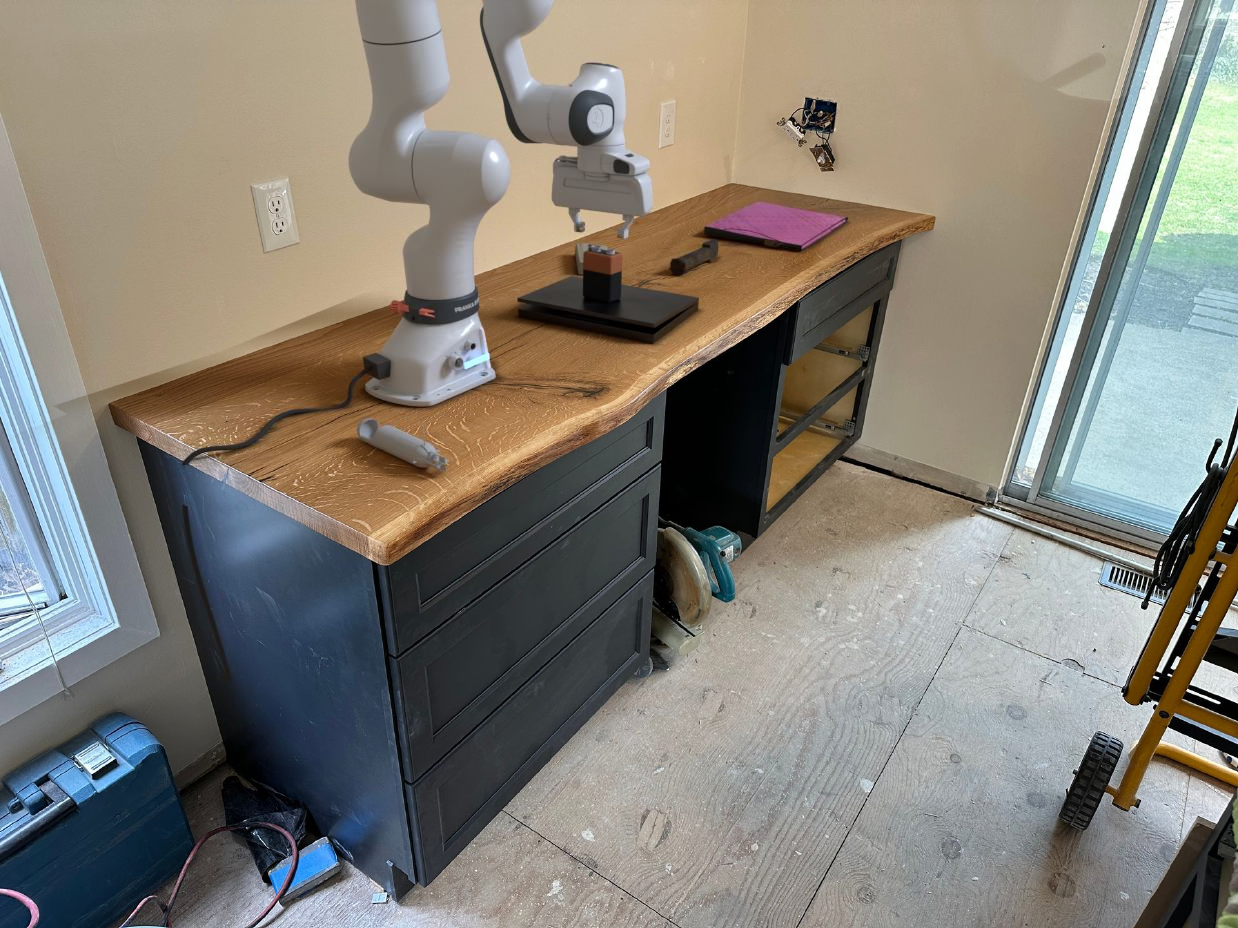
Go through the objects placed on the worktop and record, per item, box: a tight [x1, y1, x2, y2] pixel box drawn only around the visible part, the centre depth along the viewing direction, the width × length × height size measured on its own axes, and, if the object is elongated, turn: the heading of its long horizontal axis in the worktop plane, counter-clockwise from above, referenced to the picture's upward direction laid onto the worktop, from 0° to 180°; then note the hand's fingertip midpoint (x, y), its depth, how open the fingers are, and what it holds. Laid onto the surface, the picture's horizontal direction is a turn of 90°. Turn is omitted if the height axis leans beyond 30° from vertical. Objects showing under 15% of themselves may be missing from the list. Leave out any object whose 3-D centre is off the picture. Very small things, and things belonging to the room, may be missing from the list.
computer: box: [574, 242, 609, 275], centre depth 203 cm, size 16×8×3 cm, turn 5°
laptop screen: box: [517, 275, 700, 328], centre depth 173 cm, size 21×30×1 cm
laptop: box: [517, 301, 700, 345], centre depth 174 cm, size 21×30×2 cm
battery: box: [582, 244, 623, 302], centre depth 170 cm, size 4×7×10 cm, turn 55°
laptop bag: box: [703, 201, 849, 251], centre depth 231 cm, size 40×4×27 cm
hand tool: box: [669, 238, 719, 276], centre depth 202 cm, size 19×4×5 cm, turn 143°
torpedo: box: [356, 417, 450, 473], centre depth 121 cm, size 18×5×7 cm, turn 52°
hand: (600, 234), depth 166 cm, fingers open, 8 cm apart
